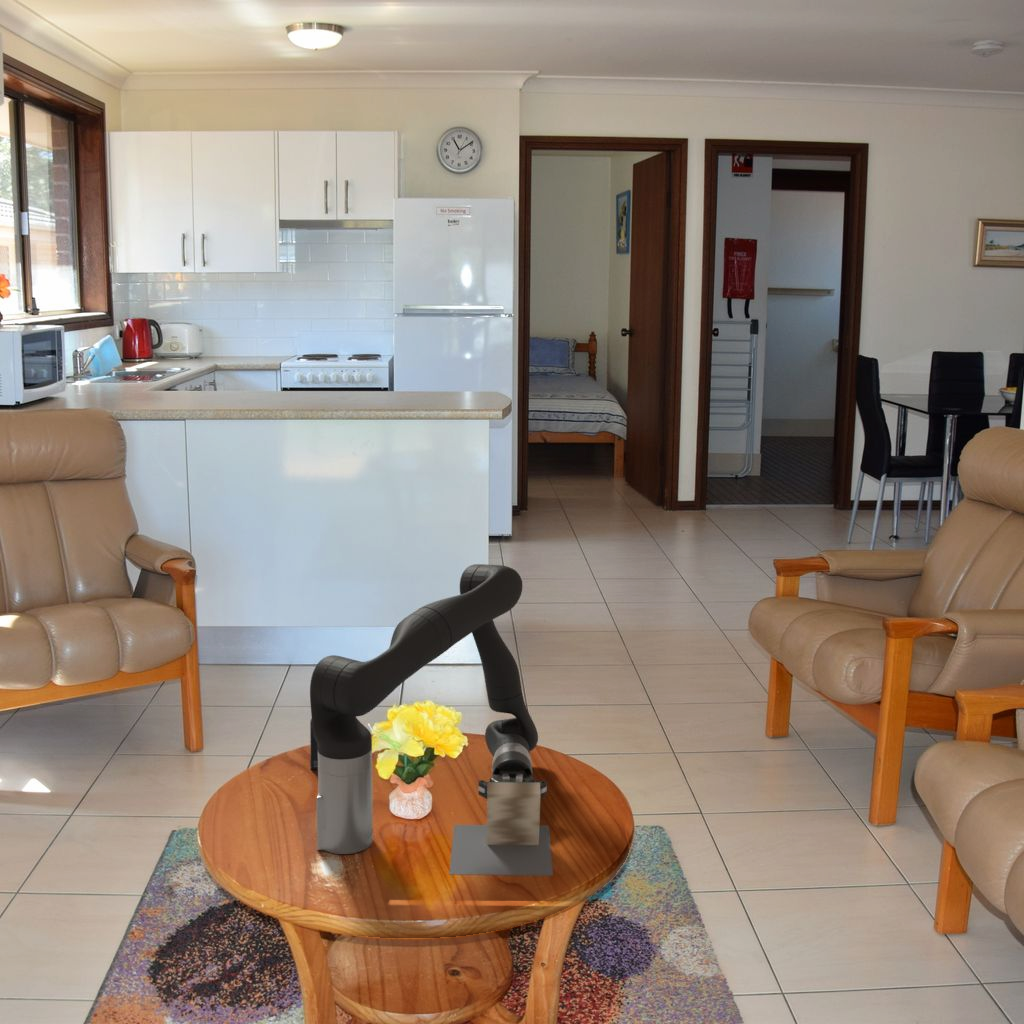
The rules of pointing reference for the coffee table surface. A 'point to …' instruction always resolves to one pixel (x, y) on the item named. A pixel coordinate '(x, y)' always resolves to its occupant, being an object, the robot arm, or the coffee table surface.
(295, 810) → the coffee table surface
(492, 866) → the rubber mat
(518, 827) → the green flat block
